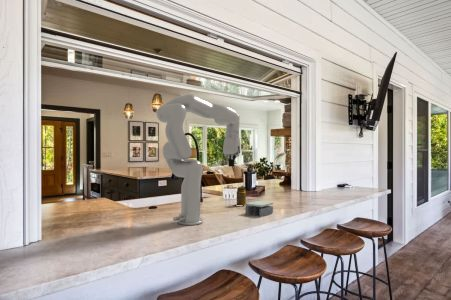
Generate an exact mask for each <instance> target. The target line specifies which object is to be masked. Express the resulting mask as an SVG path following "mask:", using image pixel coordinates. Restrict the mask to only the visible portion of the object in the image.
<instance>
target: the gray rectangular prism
mask: <svg viewBox="0 0 451 300" xmlns="http://www.w3.org/2000/svg"><path fill="white" fill-rule="evenodd" d="M265 207H267V206H264V207H257V206H252V214H251V215H254V214H255V216H257V215H258V214H259V211H260V209H261V208H265ZM258 216H259V215H258Z"/></svg>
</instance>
